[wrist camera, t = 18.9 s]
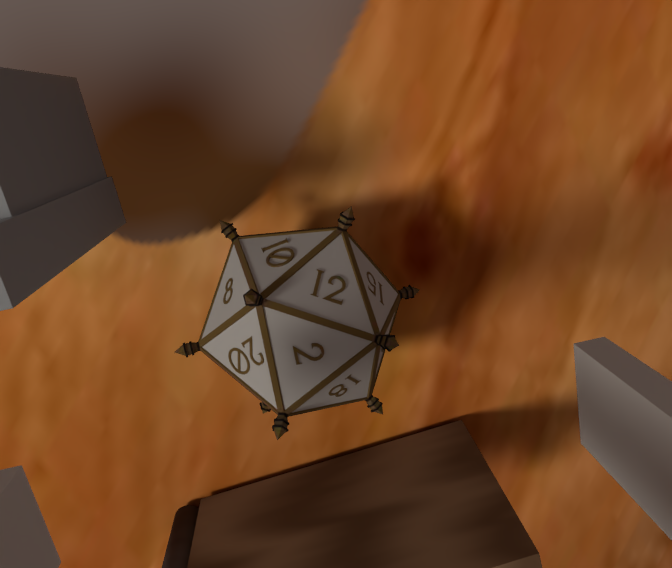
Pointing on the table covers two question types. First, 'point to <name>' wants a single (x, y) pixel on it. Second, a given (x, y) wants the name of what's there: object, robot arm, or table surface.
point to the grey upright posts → (48, 182)
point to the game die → (301, 319)
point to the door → (363, 514)
